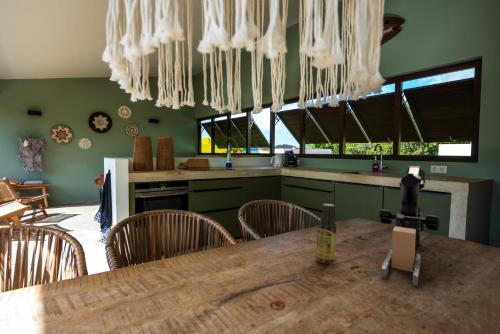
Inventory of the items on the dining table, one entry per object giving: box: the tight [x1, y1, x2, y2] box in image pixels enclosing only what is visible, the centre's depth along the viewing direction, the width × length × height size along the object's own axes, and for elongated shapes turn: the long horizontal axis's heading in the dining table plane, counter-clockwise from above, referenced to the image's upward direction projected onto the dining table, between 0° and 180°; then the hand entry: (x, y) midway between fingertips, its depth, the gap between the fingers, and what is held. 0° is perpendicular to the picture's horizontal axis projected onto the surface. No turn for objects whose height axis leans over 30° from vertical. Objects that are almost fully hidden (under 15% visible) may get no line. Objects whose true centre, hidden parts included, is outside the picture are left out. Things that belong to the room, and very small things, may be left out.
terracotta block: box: [390, 226, 416, 273], centre depth 89 cm, size 6×6×12 cm
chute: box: [380, 248, 422, 288], centre depth 86 cm, size 20×9×4 cm, turn 147°
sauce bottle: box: [315, 203, 337, 265], centre depth 95 cm, size 6×6×20 cm
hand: (405, 240), depth 96 cm, fingers closed
